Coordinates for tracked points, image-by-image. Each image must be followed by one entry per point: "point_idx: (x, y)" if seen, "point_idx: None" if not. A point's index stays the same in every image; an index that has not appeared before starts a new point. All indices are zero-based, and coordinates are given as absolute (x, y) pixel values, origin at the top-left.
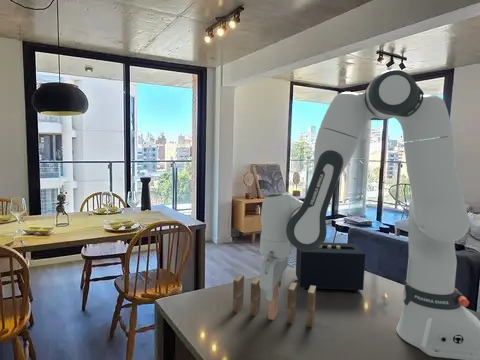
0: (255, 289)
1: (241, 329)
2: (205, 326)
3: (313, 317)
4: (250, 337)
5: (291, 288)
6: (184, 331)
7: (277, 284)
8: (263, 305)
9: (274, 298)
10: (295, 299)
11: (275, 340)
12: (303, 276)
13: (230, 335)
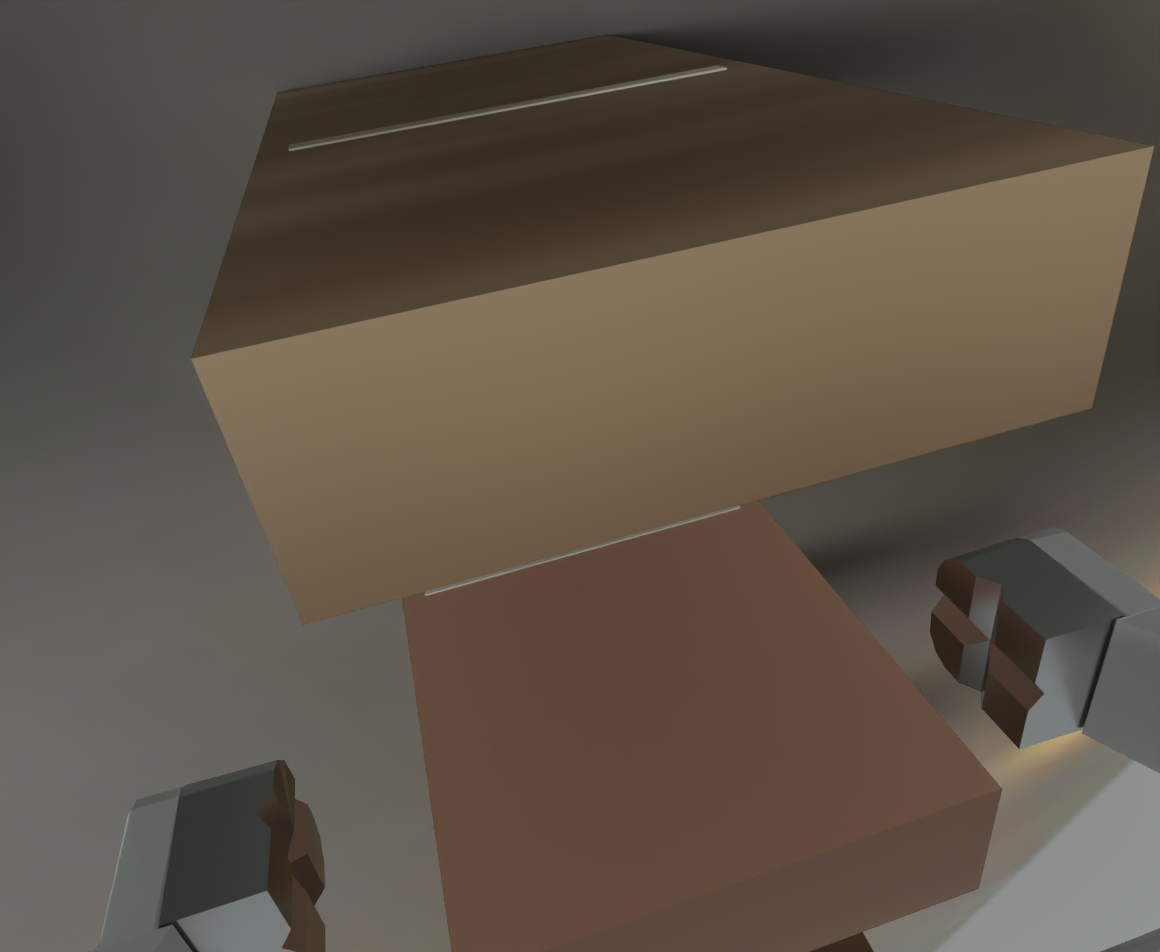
0: (860, 934)
1: (975, 536)
2: (996, 760)
3: None
4: (1101, 386)
5: (1025, 310)
6: (1088, 798)
7: (596, 844)
8: (319, 665)
9: (783, 560)
10: (420, 136)
11: (1125, 95)
12: None
13: (1093, 549)
